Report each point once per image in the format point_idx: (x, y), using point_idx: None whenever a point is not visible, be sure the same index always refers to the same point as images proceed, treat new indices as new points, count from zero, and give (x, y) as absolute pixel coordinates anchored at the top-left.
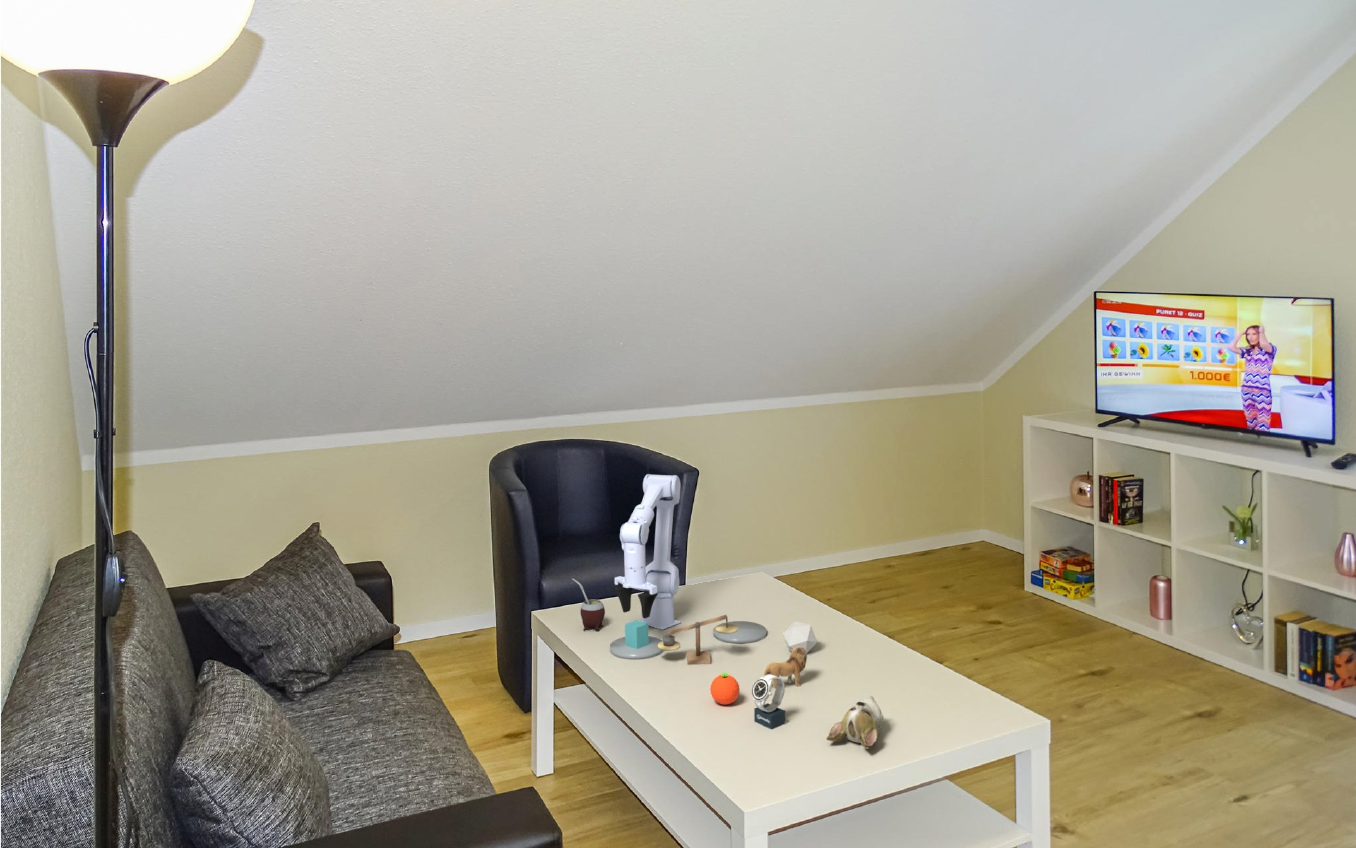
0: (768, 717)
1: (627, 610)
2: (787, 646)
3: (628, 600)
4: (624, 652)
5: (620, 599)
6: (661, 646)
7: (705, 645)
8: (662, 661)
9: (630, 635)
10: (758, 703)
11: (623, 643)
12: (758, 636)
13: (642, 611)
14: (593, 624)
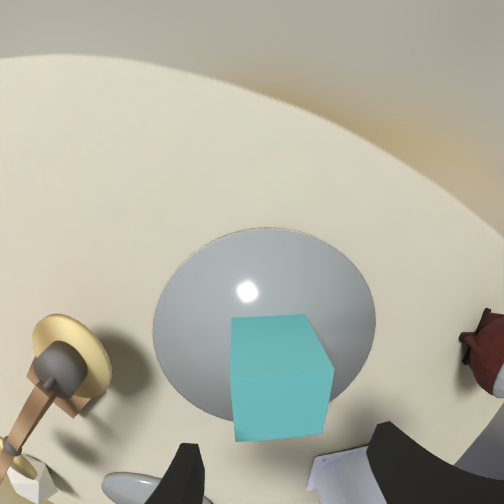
0: None
1: (374, 445)
2: (39, 467)
3: (394, 495)
4: (244, 254)
5: (441, 471)
6: (62, 329)
7: (142, 451)
8: (104, 313)
9: (279, 343)
10: None
11: (326, 321)
12: (105, 493)
13: (180, 479)
14: (482, 334)
